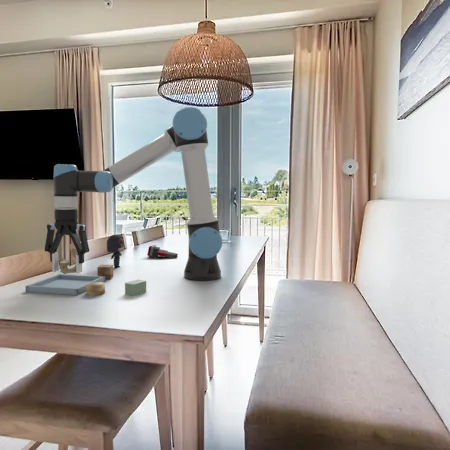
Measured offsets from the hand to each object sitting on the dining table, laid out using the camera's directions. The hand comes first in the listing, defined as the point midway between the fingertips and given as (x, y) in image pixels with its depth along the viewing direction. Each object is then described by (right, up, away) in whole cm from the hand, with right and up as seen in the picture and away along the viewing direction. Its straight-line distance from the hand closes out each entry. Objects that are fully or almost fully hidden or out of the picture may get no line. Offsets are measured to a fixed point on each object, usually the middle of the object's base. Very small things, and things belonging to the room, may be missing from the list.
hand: (67, 271), depth 132 cm
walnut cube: (+9, -4, +14) cm, 17 cm away
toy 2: (+24, -1, +62) cm, 67 cm away
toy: (+7, -3, +35) cm, 36 cm away
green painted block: (+26, -7, -7) cm, 28 cm away
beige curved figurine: (0, -1, 0) cm, 1 cm away
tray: (0, -5, 0) cm, 5 cm away
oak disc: (+13, -6, -8) cm, 16 cm away
